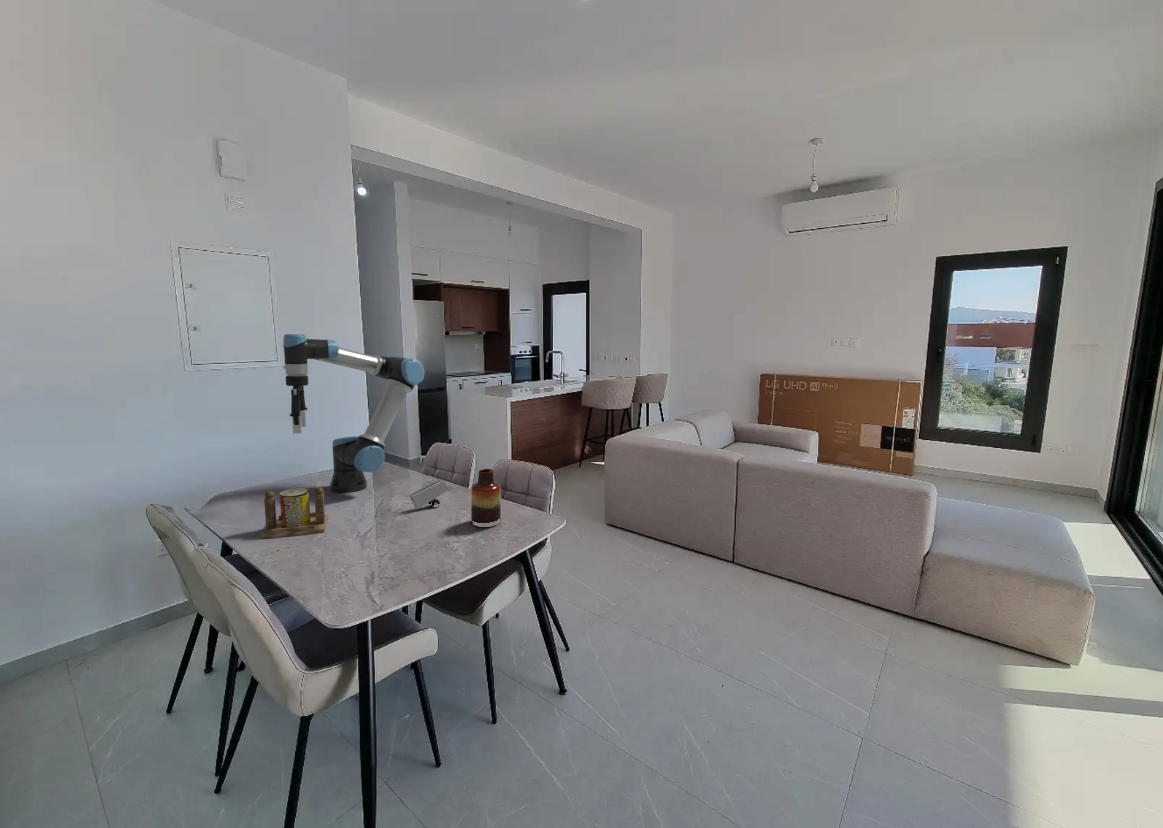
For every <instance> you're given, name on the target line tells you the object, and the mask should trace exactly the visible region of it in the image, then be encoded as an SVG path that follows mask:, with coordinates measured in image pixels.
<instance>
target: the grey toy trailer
mask: <svg viewBox="0 0 1163 828" xmlns="http://www.w3.org/2000/svg"><path fill="white" fill-rule="evenodd" d="M448 491H450V488H449V487H448V485H447V484H446V482H445V481H444V480H441V479H437V480H436V481H434V482H431V483H430V484H427V485H425V486H423V487H422V488H420V489H417V490H415V491H413V492H412V493H410V494H408V496H409V498H410V500H411V502H412V504H413V506H414V508H415V509H416V510H418V509H421V508H423V506H426V504H428V505H429V504H431V503H432V506H431V507H433V506H434V505H437V504H440V503H441V502H440V500H439V499H437V498H438V497H440V496H441V495H443V494H444V493H446V492H448Z"/></svg>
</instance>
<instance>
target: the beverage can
mask: <svg viewBox="0 0 1163 828" xmlns="http://www.w3.org/2000/svg"><path fill="white" fill-rule="evenodd" d="M279 505H280V515H281V522H282V528H289V527H299V526H308V525H309V524H310V513H311V509H310V507H311V506H310V490H309V489H308V488H303V487H302V488H301V487H299V488H297V487H296V488H290V489H286V490H283V491H281V492H280V493H279Z"/></svg>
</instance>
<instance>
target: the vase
mask: <svg viewBox="0 0 1163 828" xmlns="http://www.w3.org/2000/svg"><path fill="white" fill-rule="evenodd" d="M477 475H478V476H477V477H478V478H477V482H475V483H473V484H472V485H471V488H470V489H471V490H470V491H471V495H470V497H471V499H470V500H471V502H470V503H471V508H470V509H471V513H470V514H471V516H470V517H471V519H472V521H474V522H477V523H490V522H494V521H497V520H498V519H500V520H501V517H500V516H501V515H502V514H501V510H502V509H501V507H502V505H501V500H502V499H501V497H502V496H501V493H502V492H501V491H502V490H501V484H500V483H499V482H496V481H495V476H494V475H495V473H494V470H493V469H491V468H482V469H478V474H477Z"/></svg>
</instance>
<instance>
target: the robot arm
mask: <svg viewBox="0 0 1163 828" xmlns="http://www.w3.org/2000/svg"><path fill="white" fill-rule="evenodd" d="M282 345H283V346H282V347H283V354H284V356H283V357H284V366H282V368H283V369H284V371H285V373H284V374H285V385H286V386H288V387H292V389H290V394H291V395H290V396H291V403H290V408H291V409H290V410H291V411H290V414H289V417H291V420H292V434H302V431H303V430H302V428H306V427H307V419H306V418H307V417H306V416H307V414H306V411H308V407H307V406H306V399H305V398H306V397H305V386H308V385H309V376H308V374H309V369H308V368H309V367H308V366H309V365H308V364H309V363H308V360H315V361H318V362H319V361H320V362H324V363H327V364H332V365H336V366H341V367H345V368H349V369H353V370H358V371H363V372H367V373H369V374H370V375H371V376H374V377H377V378H380V379H383V380H385V381H386V382H387V384H388V386H387V387H386V389H385V391H384V394H383V395H382V398H381V399H380V401H379V404H378V406H377V407H376V410H375V411H374V413H373V415H372V418H371V419H370V422H369V424H368V426H367V428H366V429H365V433H362V434H360V435H359V436H347V437H346V436H345V437H339V438H335V439H333V440H332V448H331V449H332V458H333V459H332V460H333V461H332V462H333V464H332V465H333V474H332V476H331V481H330V483H329V490H330V491H331V492H334V493H353V492H357V491H362V490H364V489H366V488H367V487H368V480H367V479H366V476H365V473H372V472H375V471H377V470H378V469H380V468H381V467H382V466H383V464H384V462H385V459H386V455H385V451H384V450H385V448H386V444H385V439H386V438H387V436H388V433H389V432H390V429H391V427H392V425H393V423H394V421H395V419H396V417H397V415H398V413H399V411H400V408H401V407H402V404H403V402H404V401H405V398H406V396H407V394H408V393H411V392H413V390H414V388H415V386H417V385H419V384H421V383H422V382H423V381H424V379H425V368H424V365H423V364H422V363H421V361H419V360H418V359H415V358H412V357H400V356H383V355H379V354H375V355H370V354H365V353H363V352H359V351H354V350H351V349H346V348H343V347H340V346H339V344H338V342H337V341H336V340H334V339H319V338H318V339H315V338H307V335H306V334H299V333H285V334H284V336H283V344H282ZM364 472H365V473H364Z"/></svg>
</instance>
